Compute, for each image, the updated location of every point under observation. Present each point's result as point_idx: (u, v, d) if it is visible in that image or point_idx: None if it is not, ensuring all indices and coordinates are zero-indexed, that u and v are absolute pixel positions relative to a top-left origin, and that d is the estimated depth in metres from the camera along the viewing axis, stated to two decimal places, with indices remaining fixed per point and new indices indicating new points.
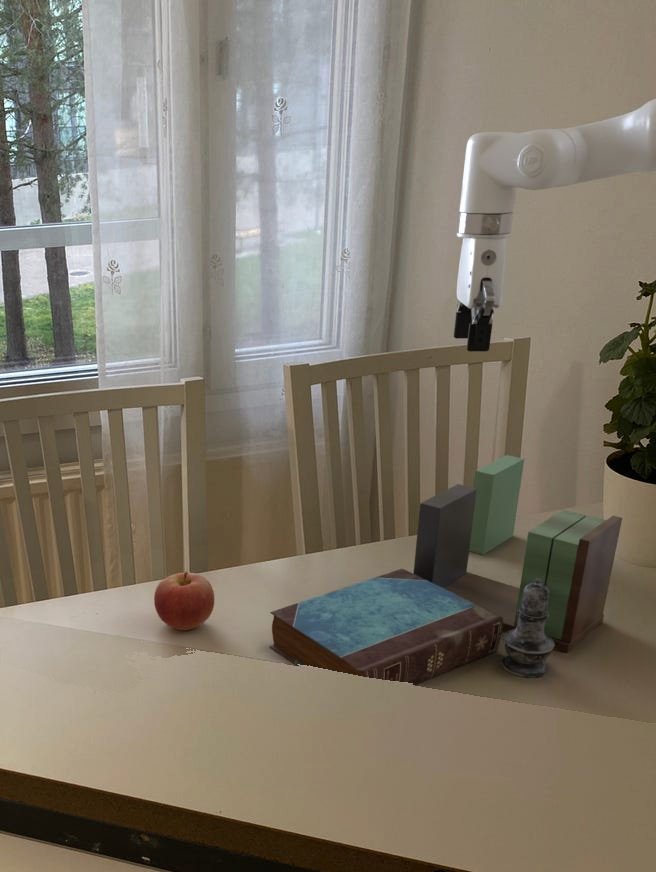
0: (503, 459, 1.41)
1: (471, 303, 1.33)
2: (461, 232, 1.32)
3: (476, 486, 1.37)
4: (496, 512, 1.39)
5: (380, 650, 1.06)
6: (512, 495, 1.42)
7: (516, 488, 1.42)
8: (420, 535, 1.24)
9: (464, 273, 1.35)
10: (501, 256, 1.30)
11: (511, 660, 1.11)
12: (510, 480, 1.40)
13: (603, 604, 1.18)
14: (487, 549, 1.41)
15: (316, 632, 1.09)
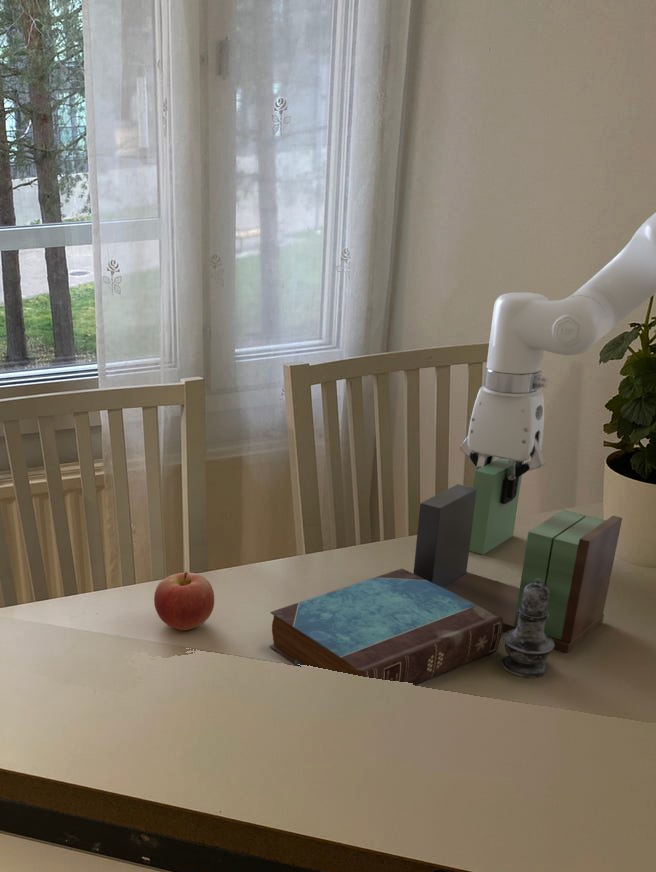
0: (502, 459, 1.41)
1: (527, 457, 1.34)
2: (508, 392, 1.31)
3: (476, 486, 1.38)
4: (496, 512, 1.39)
5: (380, 650, 1.05)
6: None
7: None
8: (420, 535, 1.24)
9: (507, 429, 1.34)
10: None
11: (511, 660, 1.11)
12: None
13: (603, 604, 1.18)
14: (487, 549, 1.41)
15: (316, 632, 1.09)
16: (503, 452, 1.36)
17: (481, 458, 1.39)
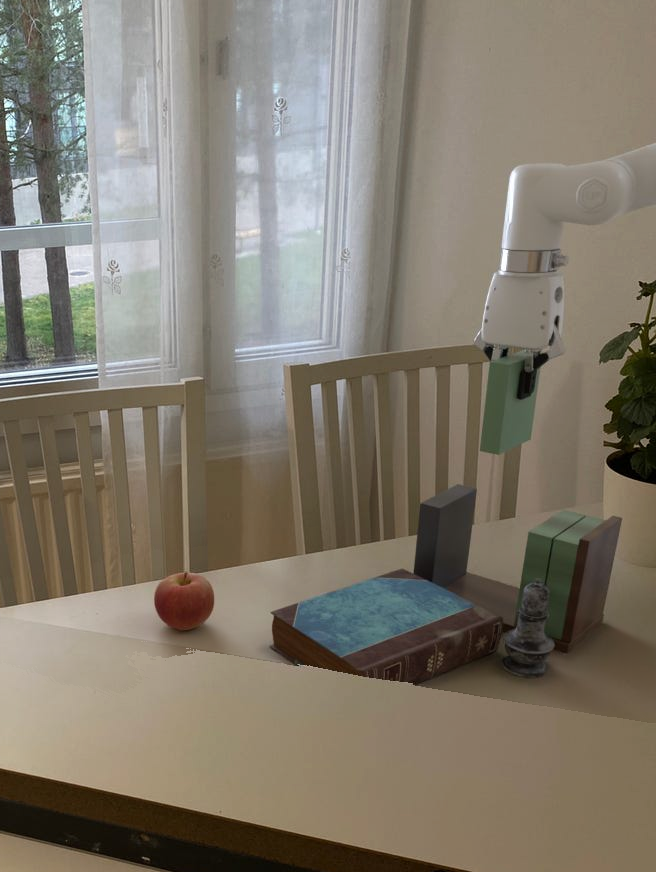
0: (519, 353, 1.32)
1: (546, 344, 1.24)
2: (525, 271, 1.22)
3: (491, 379, 1.28)
4: (512, 408, 1.30)
5: (380, 650, 1.05)
6: None
7: None
8: (420, 535, 1.24)
9: (524, 314, 1.25)
10: (563, 291, 1.24)
11: (511, 660, 1.11)
12: None
13: (603, 604, 1.18)
14: (503, 449, 1.32)
15: (316, 632, 1.09)
16: (520, 341, 1.26)
17: (496, 350, 1.30)
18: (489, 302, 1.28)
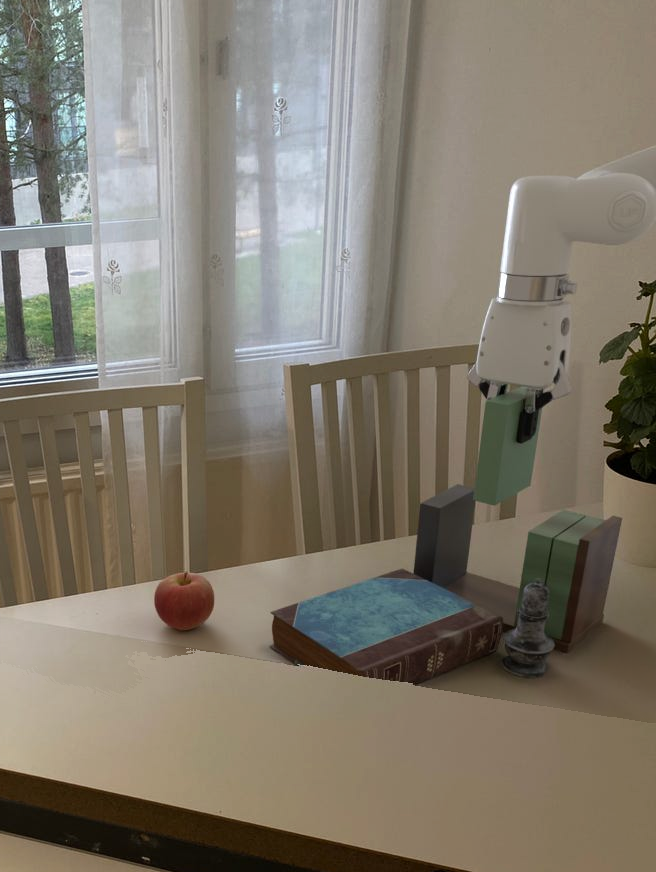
0: (519, 390, 1.16)
1: (550, 382, 1.09)
2: (527, 300, 1.06)
3: (487, 420, 1.12)
4: (511, 453, 1.14)
5: (380, 650, 1.05)
6: None
7: None
8: (420, 535, 1.24)
9: (525, 348, 1.09)
10: None
11: (511, 660, 1.11)
12: None
13: (603, 604, 1.18)
14: (500, 499, 1.16)
15: (316, 632, 1.09)
16: (520, 378, 1.11)
17: (493, 387, 1.14)
18: (485, 333, 1.12)
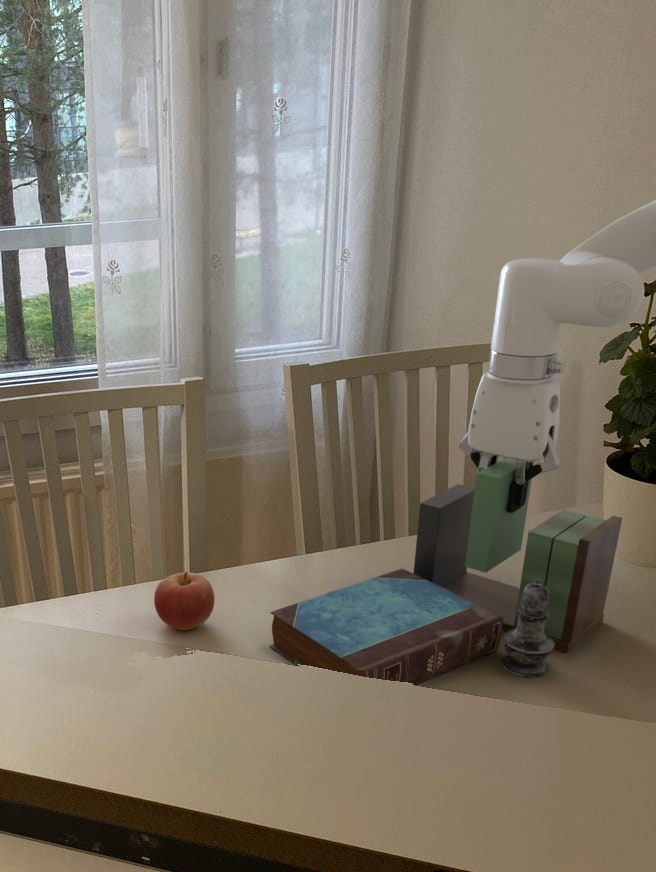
0: (509, 459, 1.19)
1: (539, 457, 1.12)
2: (516, 378, 1.09)
3: (478, 491, 1.15)
4: (501, 522, 1.17)
5: (380, 650, 1.05)
6: None
7: None
8: (420, 535, 1.24)
9: (515, 423, 1.12)
10: (559, 399, 1.11)
11: (511, 660, 1.11)
12: None
13: (603, 604, 1.18)
14: (491, 566, 1.19)
15: (316, 632, 1.09)
16: (510, 451, 1.14)
17: (484, 457, 1.17)
18: (477, 406, 1.15)
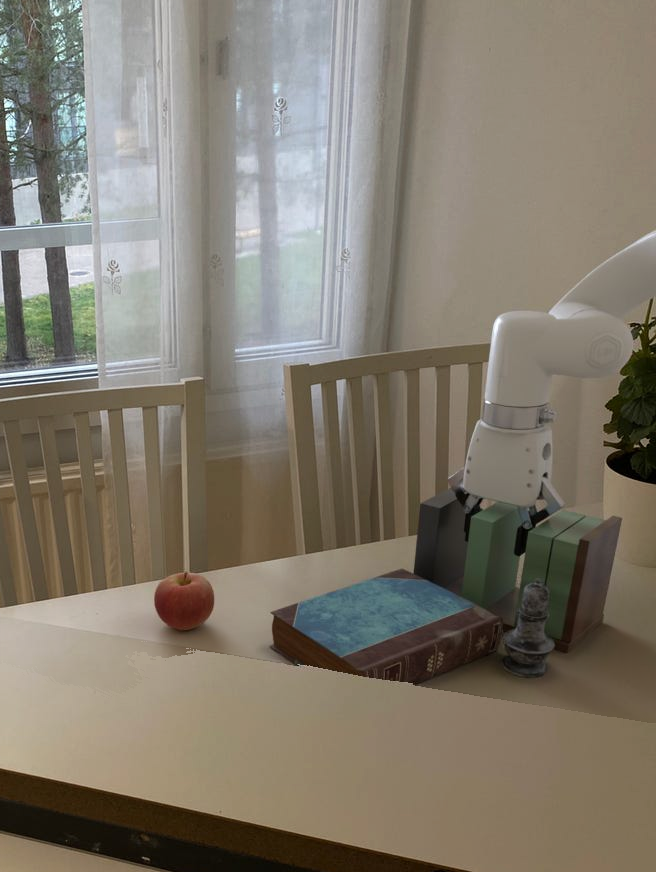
0: None
1: (533, 503, 1.14)
2: (510, 428, 1.11)
3: (472, 534, 1.18)
4: (496, 563, 1.20)
5: (380, 650, 1.05)
6: (514, 543, 1.22)
7: None
8: (420, 535, 1.24)
9: (509, 470, 1.14)
10: (552, 446, 1.14)
11: (511, 660, 1.11)
12: (512, 526, 1.20)
13: (603, 604, 1.18)
14: (485, 606, 1.21)
15: (316, 632, 1.09)
16: (505, 497, 1.16)
17: (472, 498, 1.20)
18: (471, 453, 1.17)
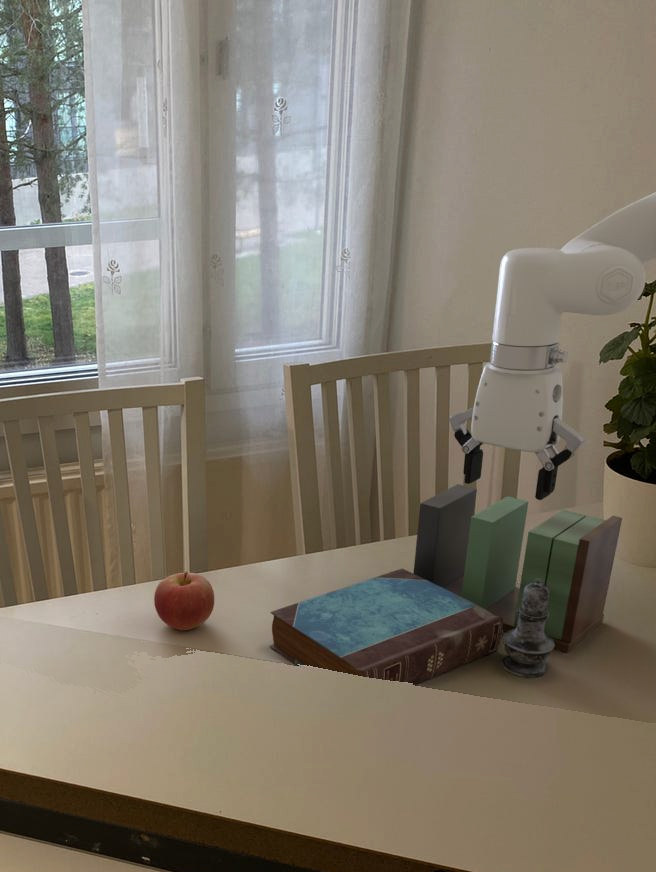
0: (503, 501, 1.22)
1: (543, 447, 1.11)
2: (518, 369, 1.08)
3: (472, 534, 1.18)
4: (496, 563, 1.20)
5: (380, 650, 1.05)
6: (514, 543, 1.22)
7: (519, 534, 1.23)
8: (420, 535, 1.24)
9: (518, 414, 1.11)
10: (562, 388, 1.10)
11: (511, 660, 1.11)
12: (512, 526, 1.20)
13: (603, 604, 1.18)
14: (485, 606, 1.21)
15: (316, 632, 1.09)
16: (514, 442, 1.13)
17: (474, 440, 1.18)
18: (479, 398, 1.14)
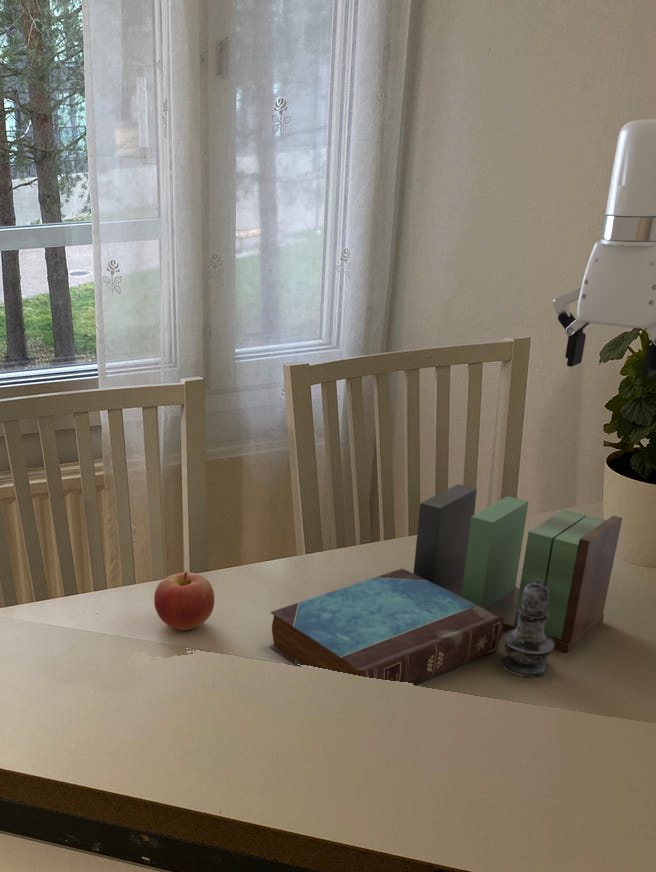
0: (503, 501, 1.22)
1: (654, 322, 1.12)
2: (634, 240, 1.09)
3: (472, 534, 1.18)
4: (496, 563, 1.20)
5: (380, 650, 1.05)
6: (514, 543, 1.22)
7: (519, 534, 1.23)
8: (420, 535, 1.24)
9: (630, 288, 1.12)
10: None
11: (511, 660, 1.11)
12: (512, 526, 1.20)
13: (603, 604, 1.18)
14: (485, 606, 1.21)
15: (316, 632, 1.09)
16: (623, 318, 1.14)
17: (580, 320, 1.19)
18: (588, 275, 1.16)
